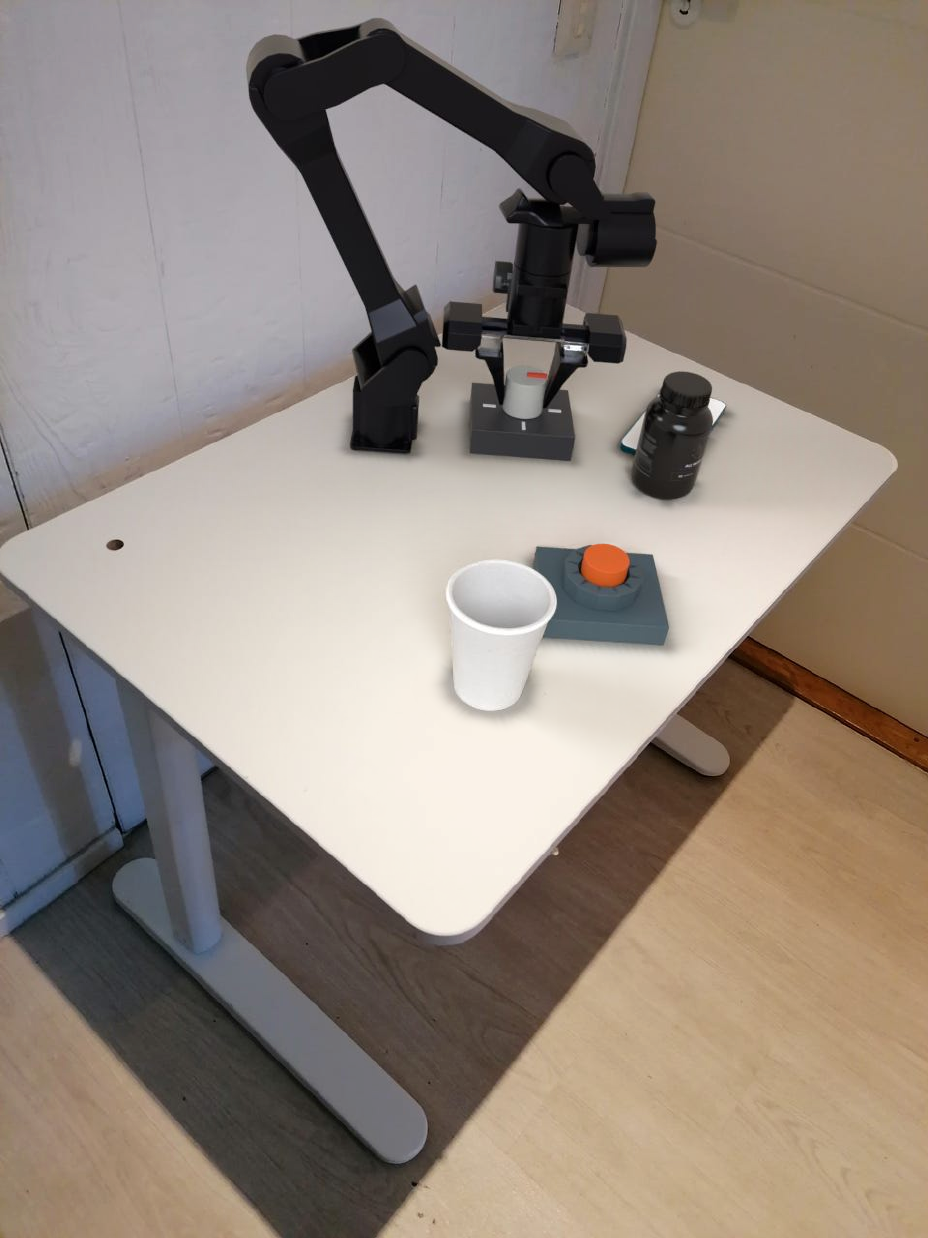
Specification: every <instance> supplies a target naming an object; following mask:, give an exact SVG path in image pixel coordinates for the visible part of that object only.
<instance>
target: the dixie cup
mask: <svg viewBox="0 0 928 1238" xmlns="http://www.w3.org/2000/svg"><path fill="white" fill-rule="evenodd" d="M445 587H446V588H445V598H446V603H447V605H448V607H449V622H450V623H449V624H450V625H449V627H450V641H451V656H452V657H451V658H452V659H451V660H452V674H453V675H452V676H453V687H454V691H455V693H456V695H457V696H458V698H459V699H460V700H461V701H462V702H463V703H465V704H466V705H468V706H469V707H472V708H474V709H477V710H481V711H488V712H495V711H501V710H505V709H507V708H510V707H511V706H513V705H514V704H516V703H517V702H518V700H520V698H521V696H522V693H523V690H524V687H525V685H526V682H527V681H528V678H529V675H530V671H531V669H532V666H533V664H534V661H535V658H536V655H537V653H538V651H539V648H540V645H541V642H542V639H543V638H544V637H543V634H544V631H545V629H546V626H547V623H548V621H549V620H550V619H551V618H552V616H553V614H554V612H555V610H556V605H557V598H556V594H555V591H554V589H553V587H552V585H551V584H550V583H549V581H548V580H547V579H546V578H545V577H544V576H542V575H541V574H540V573H539V572H537V571H535V570H534V568H532V567H530V566H528V565H526V564H523V563H520V562H517V561H513V560H508V559H500V558H499V559H495V558H493V559H492V558H491V559H483V560H478V561H474V562H471V563H469V564H466V565H464V566H462V567H461V568H459V569H458V570H456V571H455V572H454V573H453V574H452V576H451V577H450V578H449V580H448V581H447V584H446V586H445Z"/></svg>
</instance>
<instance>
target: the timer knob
mask: <svg viewBox="0 0 928 1238" xmlns="http://www.w3.org/2000/svg"><path fill="white" fill-rule="evenodd" d="M547 378H548V373H545V372H544V371H543V370H541V369H540V368H538V367H535V366H530V365H516V366H513V367H510V368H509V369H508V370H507V371H506V373H505V379H504V385H505V388H504V401H503V405H502V408H503V410H504V411H505V412H506V413H507V414H508V415H510V416H512V417H515V418H520V419H531V418H535V417H537V416H539V415H540V414H541V413H542V408H543V402H544V396H545V390H546V383H547Z"/></svg>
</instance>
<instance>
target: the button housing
mask: <svg viewBox="0 0 928 1238" xmlns="http://www.w3.org/2000/svg"><path fill="white" fill-rule="evenodd" d="M592 545H593V544H589V545H585V546H582V547H577V548H568V547H567V548H566V547H565V548H564V547H554V546H553V547H552V546H537V545H536V546H535V553H534V557H533V563H532V565H533V569H534V570H535V571H537V572H539V573H540V574H541V575H542V576H544V577H545V578H546V579H547V580H548V581H549V583H550V584H551V585H552V587H553V589H554V591H555V594H556V598H557V605H556V610H555V612H554V614H553V616H552V618H551V619H550V620H549V621H548V623H547V626H546V629H545V631H544V634H543V637H542V638H544V639H545V638H546V639H560V640H577V641H591V642H606V643H621V644H622V643H623V644H637V645H639V644H640V645H652V646H665V642H666V639H667V636H668V633H669V629H670V625H669V620H668V616H667V612H666V611H667V610H666V606H665V603H664V598H663V594H662V590H661V584H660V580H659V575H658V571H657V567H656V562H655V557H654V554H652V553H639V552H638V553H637V552H625V553H626V554H627V555H628V557H629V560H630V563H629V567H628V571H627V575H626V578H625V581H624V582H623V583H622V584H620V585H619V586H616V587H603V586H598V585H596V584H593V583H591V582H589V581H587V580H586V579H585V578H584V577H583V575H582V573H581V566H582V561H583V557H584V553H585V551H586V549H587V548H588V547H590V546H592Z"/></svg>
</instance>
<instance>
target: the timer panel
mask: <svg viewBox="0 0 928 1238" xmlns="http://www.w3.org/2000/svg"><path fill="white" fill-rule="evenodd" d="M504 388H505V384H504ZM571 407H572V406H571V400H570V393H569V390H568V389H561V388H560V389H559V391H558V392H557V394H556V395H555V397H554V398H553V400H552V401H551V403H550V404H549V405H548V407H547V408H546V409H545V408H542V413H541V414H540V415H539V416H537V417H535V418H531V419H520V418H515V417H512V416H510V415H508V414H507V413H506V412H505V411H504V410H503V408H502V405H499V402H498V398H497V393H496V389H495V385H494V383H483V382H471V388H470V396H469V454H474V455H485V456H486V455H487V456H499V457H501V456H502V457H512V458H524V459H525V458H526V459H541V460H550V461H551V460H553V461H566V462H571V461H572V457H573V452H574V448H575V447H574V446H575V442H576V433H575V428H574V420H573V413H572V408H571Z"/></svg>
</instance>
